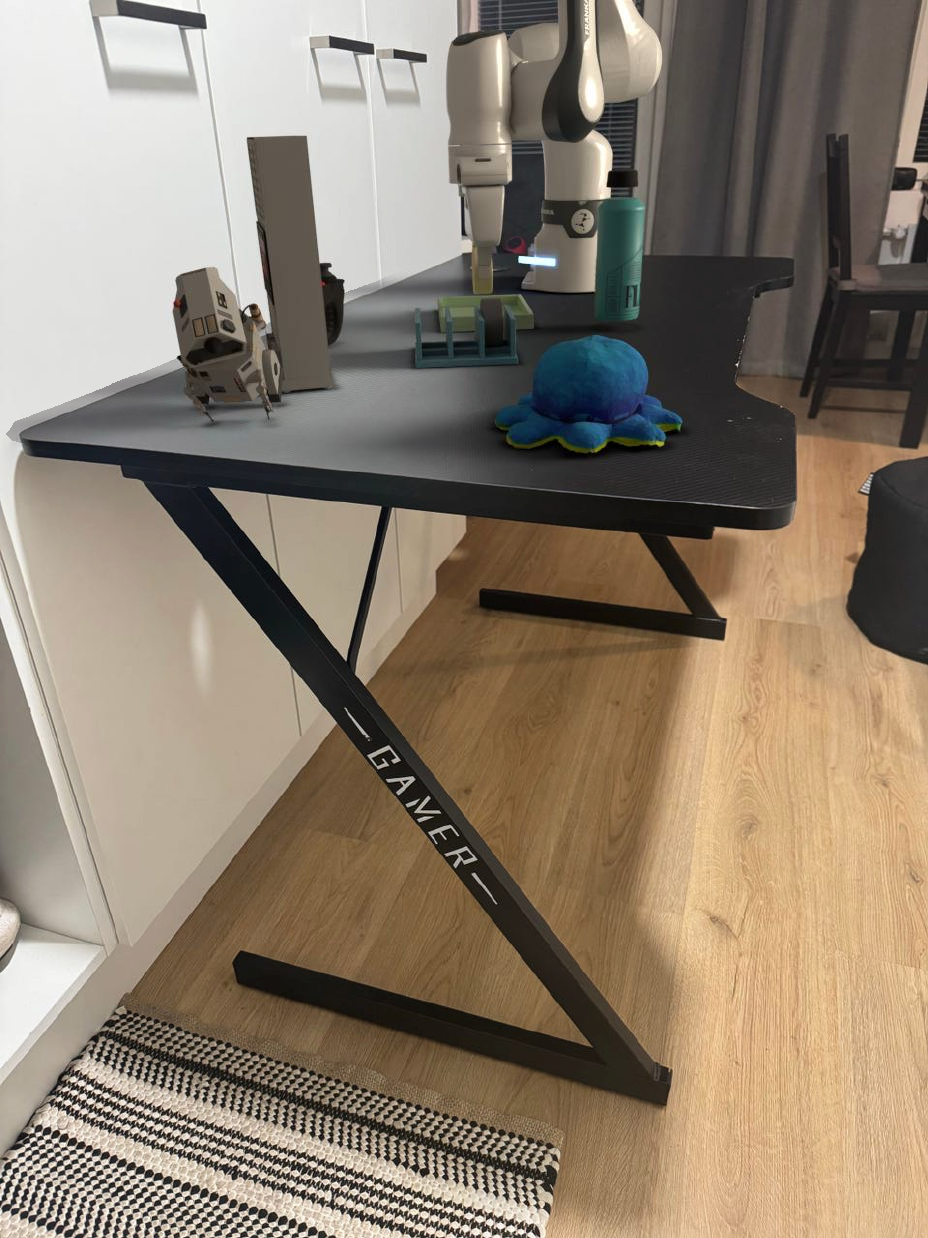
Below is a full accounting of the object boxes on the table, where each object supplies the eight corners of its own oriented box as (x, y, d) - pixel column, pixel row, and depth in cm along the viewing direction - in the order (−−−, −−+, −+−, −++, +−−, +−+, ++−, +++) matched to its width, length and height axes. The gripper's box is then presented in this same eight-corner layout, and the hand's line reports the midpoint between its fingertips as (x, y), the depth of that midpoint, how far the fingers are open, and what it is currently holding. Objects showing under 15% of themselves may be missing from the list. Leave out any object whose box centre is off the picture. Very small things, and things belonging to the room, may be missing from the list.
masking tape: (472, 289, 134) (471, 244, 130) (489, 288, 134) (488, 243, 130) (475, 298, 128) (473, 250, 125) (493, 297, 128) (492, 250, 125)
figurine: (193, 451, 92) (143, 352, 78) (203, 363, 96) (158, 256, 83) (280, 449, 92) (246, 349, 78) (287, 361, 96) (255, 253, 83)
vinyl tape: (480, 345, 114) (479, 296, 111) (499, 344, 114) (498, 295, 111) (484, 353, 109) (483, 301, 106) (503, 352, 109) (503, 300, 106)
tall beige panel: (269, 366, 110) (238, 137, 97) (318, 362, 111) (294, 135, 99) (278, 394, 98) (244, 137, 86) (333, 389, 99) (308, 135, 87)
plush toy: (645, 467, 74) (653, 366, 70) (467, 442, 81) (464, 349, 77) (699, 414, 87) (708, 326, 83) (541, 396, 94) (542, 315, 90)
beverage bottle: (625, 334, 121) (634, 169, 111) (582, 329, 124) (588, 169, 114) (647, 325, 125) (658, 167, 115) (605, 321, 129) (613, 167, 119)
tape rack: (415, 348, 116) (413, 307, 114) (509, 344, 117) (509, 303, 114) (415, 368, 107) (413, 323, 104) (517, 364, 107) (518, 319, 105)
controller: (353, 337, 124) (347, 260, 119) (315, 357, 113) (306, 274, 108) (325, 336, 125) (318, 260, 120) (285, 355, 114) (274, 274, 110)
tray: (438, 310, 140) (437, 297, 139) (520, 307, 140) (520, 294, 140) (440, 332, 125) (440, 317, 124) (533, 328, 125) (533, 314, 125)
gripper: (454, 167, 132) (457, 266, 138) (461, 171, 114) (464, 284, 120) (496, 166, 132) (497, 265, 139) (510, 169, 114) (510, 282, 121)
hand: (482, 274), depth 129 cm, fingers closed on masking tape, 6 cm apart
